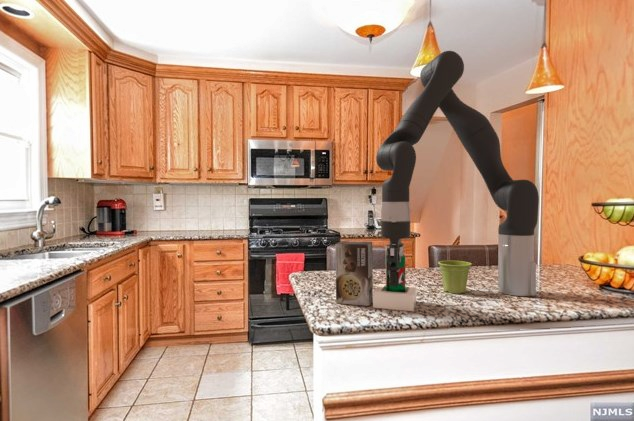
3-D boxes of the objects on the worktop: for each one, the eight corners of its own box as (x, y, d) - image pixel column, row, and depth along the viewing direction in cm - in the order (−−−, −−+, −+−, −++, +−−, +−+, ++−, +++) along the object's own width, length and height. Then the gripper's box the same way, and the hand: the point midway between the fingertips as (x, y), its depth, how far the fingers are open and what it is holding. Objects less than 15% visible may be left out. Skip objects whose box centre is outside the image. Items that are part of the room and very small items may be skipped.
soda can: (405, 294, 97) (405, 250, 97) (405, 299, 92) (405, 252, 92) (385, 294, 98) (385, 249, 98) (385, 298, 93) (385, 252, 93)
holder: (416, 301, 98) (416, 286, 98) (413, 311, 88) (413, 295, 88) (379, 297, 101) (379, 283, 101) (372, 307, 92) (372, 291, 92)
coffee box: (373, 300, 99) (373, 241, 98) (369, 306, 93) (369, 243, 92) (341, 297, 102) (341, 240, 101) (334, 303, 96) (334, 242, 95)
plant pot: (438, 294, 106) (438, 264, 105) (437, 287, 115) (437, 259, 114) (473, 296, 103) (473, 265, 103) (469, 289, 112) (469, 261, 112)
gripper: (385, 218, 103) (385, 278, 103) (376, 220, 89) (376, 289, 89) (412, 218, 100) (412, 279, 100) (407, 220, 87) (407, 291, 87)
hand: (395, 283), depth 95 cm, fingers closed on soda can, 5 cm apart
